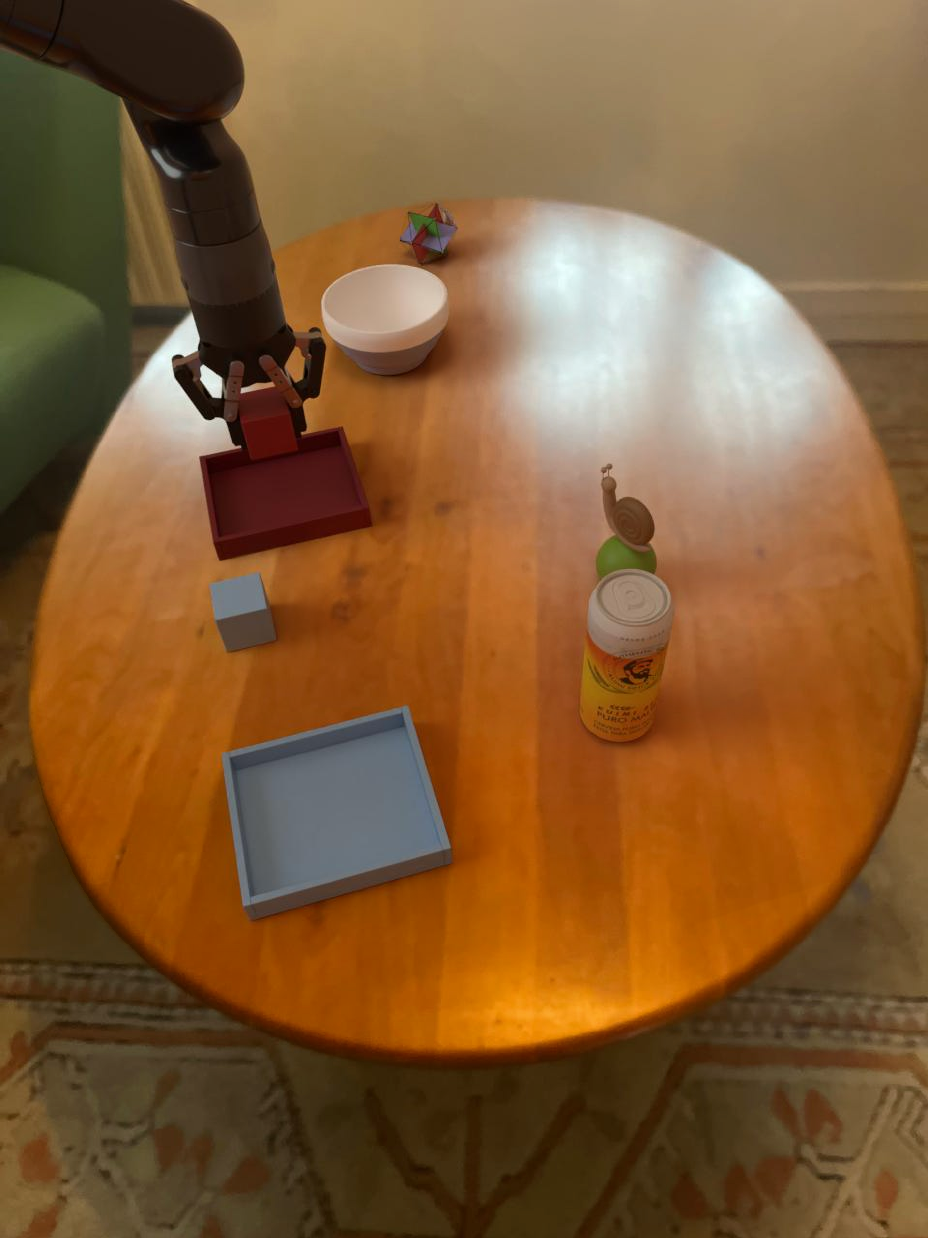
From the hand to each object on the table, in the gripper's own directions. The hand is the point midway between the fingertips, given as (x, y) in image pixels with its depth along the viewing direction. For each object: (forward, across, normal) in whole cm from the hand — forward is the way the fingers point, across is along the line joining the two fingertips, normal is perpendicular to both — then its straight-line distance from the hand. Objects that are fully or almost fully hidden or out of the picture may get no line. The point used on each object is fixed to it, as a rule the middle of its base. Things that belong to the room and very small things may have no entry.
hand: (270, 438), depth 91 cm
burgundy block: (0, 0, 0) cm, 0 cm away
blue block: (+8, +6, +16) cm, 19 cm away
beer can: (+8, -22, +35) cm, 42 cm away
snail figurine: (+8, -28, +21) cm, 36 cm away
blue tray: (+8, +2, +37) cm, 38 cm away
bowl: (+8, -16, -21) cm, 28 cm away
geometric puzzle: (+8, -26, -41) cm, 49 cm away
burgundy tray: (+8, 0, 0) cm, 8 cm away
